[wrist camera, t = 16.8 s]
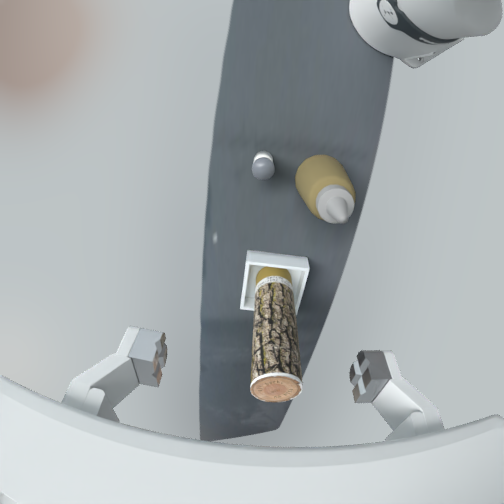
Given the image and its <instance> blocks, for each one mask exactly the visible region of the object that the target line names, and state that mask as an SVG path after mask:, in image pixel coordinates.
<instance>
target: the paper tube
mask: <svg viewBox="0 0 504 504" xmlns="http://www.w3.org/2000/svg"><path fill="white" fill-rule="evenodd" d="M250 391H251V393H252V395H253V396H254V397H256V398H258V399H260V400H263V401H267V402H284V401H288V400H291V399H293V398H295V397H297V396H298V395H299V394H300V393H301V392H302V373H301V362H300V352H299V341H298V331H297V322H296V312H295V303H294V294H293V287H292V278H291V275H290V273H289V271H288V270H287V269H284V268H276V267H267V266H266V267H264V268H262V269H261V270H260V271H259V272H258V274H257V276H256V286H255V304H254V324H253V344H252V363H251V382H250Z"/></svg>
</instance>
